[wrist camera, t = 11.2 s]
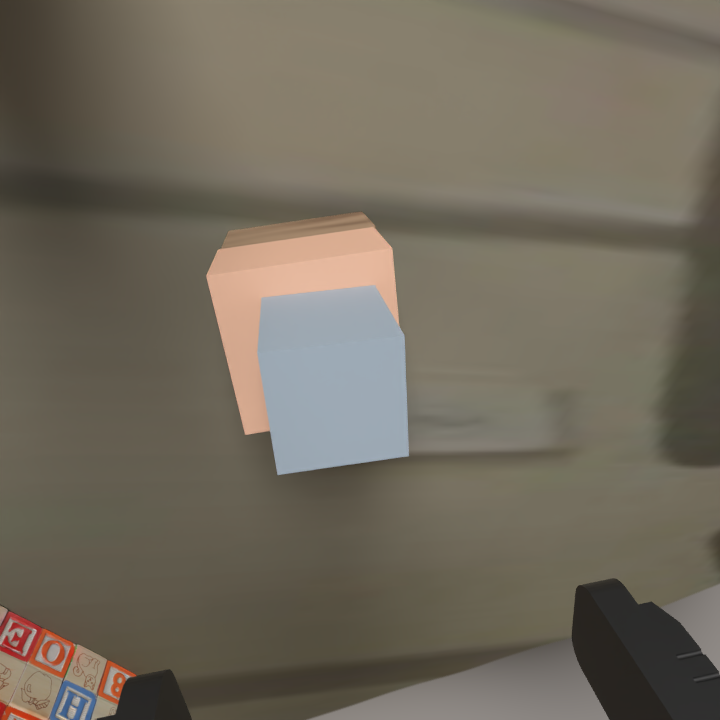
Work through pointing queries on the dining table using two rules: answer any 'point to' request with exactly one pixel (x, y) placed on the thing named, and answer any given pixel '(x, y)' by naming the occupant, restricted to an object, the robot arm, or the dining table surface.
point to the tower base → (296, 229)
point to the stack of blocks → (53, 675)
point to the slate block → (333, 378)
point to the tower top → (283, 277)
